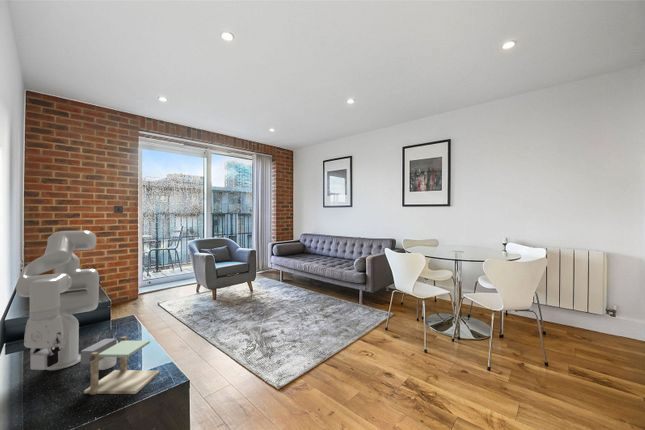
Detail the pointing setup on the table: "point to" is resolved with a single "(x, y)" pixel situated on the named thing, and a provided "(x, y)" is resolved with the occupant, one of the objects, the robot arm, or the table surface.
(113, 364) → the white cup
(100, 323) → the table surface
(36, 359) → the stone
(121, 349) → the trapdoor
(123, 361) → the frame
